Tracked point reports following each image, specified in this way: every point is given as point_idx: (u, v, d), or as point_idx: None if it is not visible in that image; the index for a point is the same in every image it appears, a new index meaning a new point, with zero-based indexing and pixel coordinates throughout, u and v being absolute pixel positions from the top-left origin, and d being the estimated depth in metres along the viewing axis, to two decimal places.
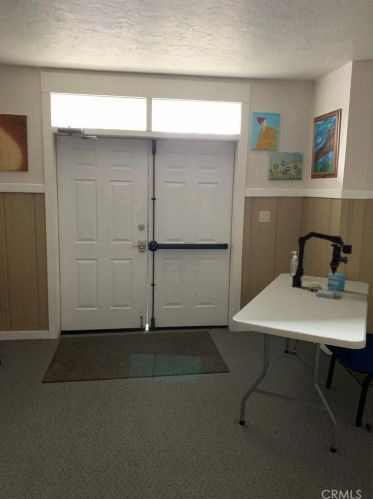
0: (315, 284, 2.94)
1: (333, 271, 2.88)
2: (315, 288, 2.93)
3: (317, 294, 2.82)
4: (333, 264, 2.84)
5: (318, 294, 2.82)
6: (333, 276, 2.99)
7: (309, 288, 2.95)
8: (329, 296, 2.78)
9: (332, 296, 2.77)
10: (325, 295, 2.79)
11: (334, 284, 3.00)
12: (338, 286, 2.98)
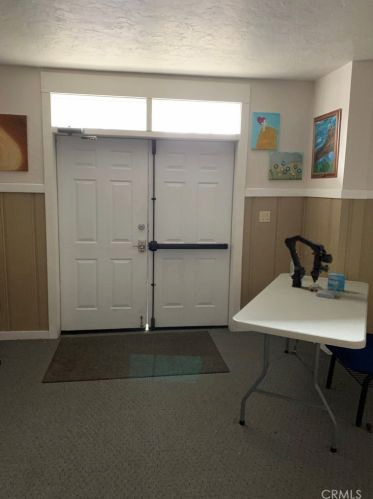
0: (315, 284, 2.94)
1: (314, 279, 2.90)
2: (315, 288, 2.93)
3: (317, 294, 2.82)
4: (313, 273, 2.86)
5: (318, 294, 2.82)
6: (333, 276, 2.99)
7: (309, 288, 2.95)
8: (329, 296, 2.78)
9: (332, 296, 2.77)
10: (325, 295, 2.79)
11: (334, 284, 3.00)
12: (338, 286, 2.98)
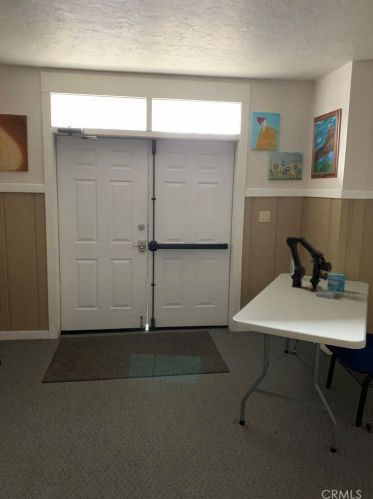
0: None
1: (314, 287, 2.93)
2: None
3: (317, 294, 2.82)
4: (313, 281, 2.87)
5: (318, 294, 2.82)
6: (333, 276, 2.99)
7: (309, 288, 2.95)
8: (329, 296, 2.78)
9: (332, 296, 2.77)
10: (325, 295, 2.79)
11: (334, 284, 3.00)
12: (338, 286, 2.98)
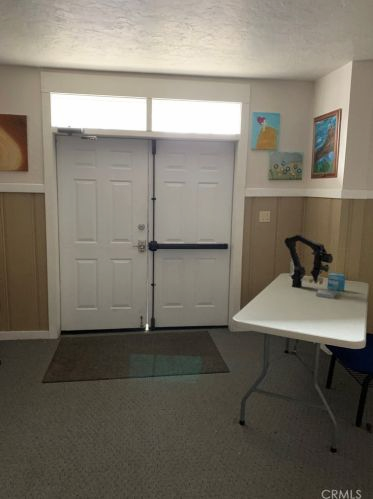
0: None
1: (315, 279, 2.91)
2: None
3: (317, 294, 2.82)
4: (314, 272, 2.85)
5: (318, 294, 2.82)
6: (333, 276, 2.99)
7: (310, 280, 2.94)
8: (329, 296, 2.78)
9: (332, 296, 2.77)
10: (325, 295, 2.79)
11: (334, 284, 3.00)
12: (338, 286, 2.98)
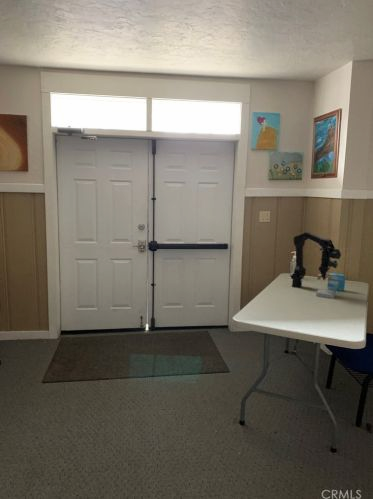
0: None
1: (323, 275, 2.82)
2: None
3: (317, 294, 2.82)
4: (322, 269, 2.76)
5: (318, 294, 2.82)
6: (333, 276, 2.99)
7: (318, 276, 2.85)
8: (329, 296, 2.78)
9: (332, 296, 2.77)
10: (325, 295, 2.79)
11: (334, 284, 3.00)
12: (338, 286, 2.98)
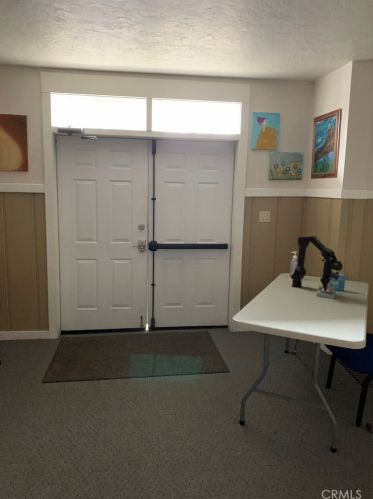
0: None
1: (324, 287, 2.80)
2: None
3: (317, 294, 2.82)
4: (324, 280, 2.74)
5: (318, 294, 2.82)
6: None
7: (319, 287, 2.83)
8: (329, 296, 2.78)
9: (332, 296, 2.77)
10: (325, 295, 2.79)
11: (334, 284, 3.00)
12: (338, 286, 2.98)
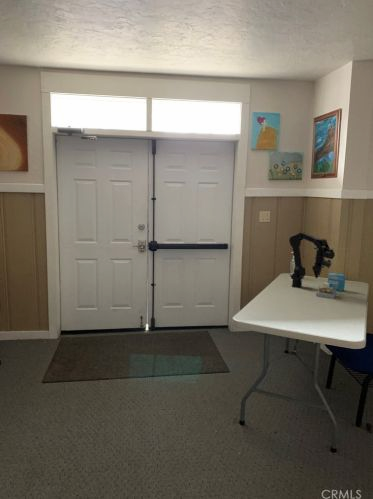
0: (325, 285, 2.82)
1: (316, 275, 2.85)
2: (326, 289, 2.81)
3: (317, 294, 2.82)
4: (316, 268, 2.81)
5: (318, 294, 2.82)
6: (333, 276, 2.99)
7: (319, 289, 2.83)
8: (329, 296, 2.78)
9: (332, 296, 2.77)
10: (325, 295, 2.79)
11: (334, 284, 3.00)
12: (338, 286, 2.98)
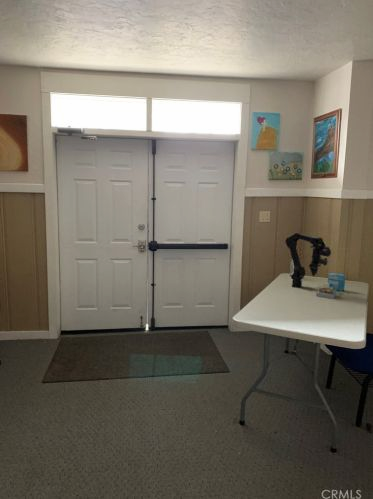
0: (325, 285, 2.82)
1: (313, 273, 2.88)
2: (326, 289, 2.81)
3: (317, 294, 2.82)
4: (312, 266, 2.83)
5: (318, 294, 2.82)
6: (333, 276, 2.99)
7: (319, 289, 2.83)
8: (329, 296, 2.78)
9: (332, 296, 2.77)
10: (325, 295, 2.79)
11: (334, 284, 3.00)
12: (338, 286, 2.98)
